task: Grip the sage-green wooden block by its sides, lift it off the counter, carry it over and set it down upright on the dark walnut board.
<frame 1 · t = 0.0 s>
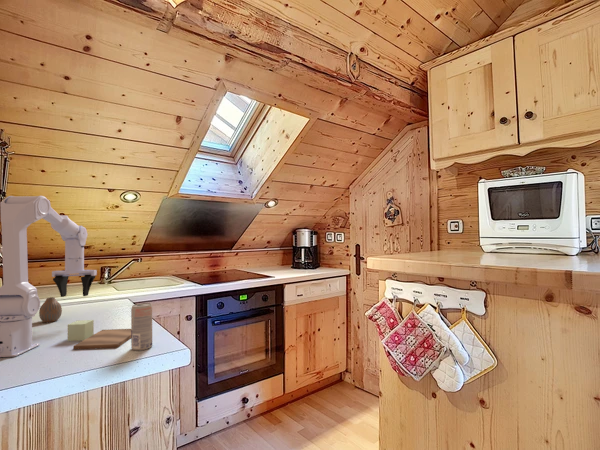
hand: (74, 296, 122), 10 cm above the countertop, tool pointing down, fingers open, 7 cm apart
energy drink: (142, 348, 95), on the countertop
sage block: (80, 338, 105), on the countertop
walnut board: (109, 339, 103), on the countertop
vase: (50, 321, 127), on the countertop
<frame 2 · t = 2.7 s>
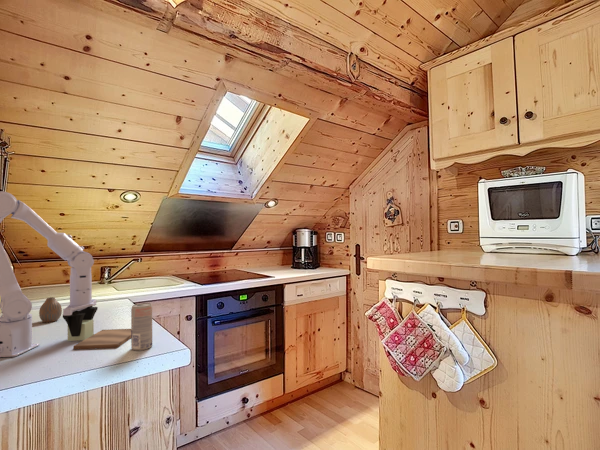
hand: (80, 333, 105), 1 cm above the countertop, tool pointing down, fingers closed on sage block, 5 cm apart
sage block: (80, 338, 105), on the countertop, touching gripper
everything else where it was.
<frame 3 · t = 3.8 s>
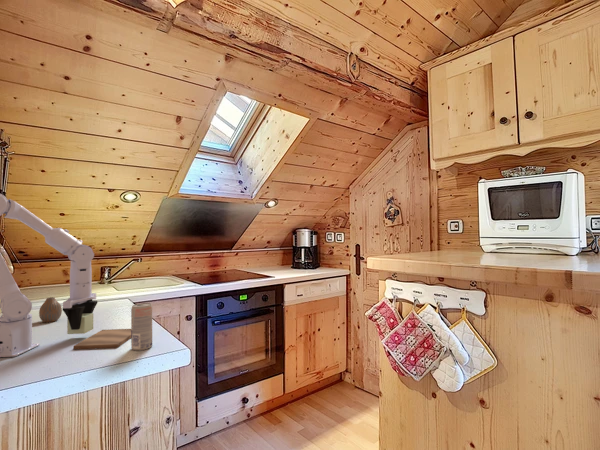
hand: (80, 326, 105), 3 cm above the countertop, tool pointing down, fingers closed on sage block, 5 cm apart
sage block: (80, 331, 105), point 2 cm above the countertop, touching gripper
everything else where it was.
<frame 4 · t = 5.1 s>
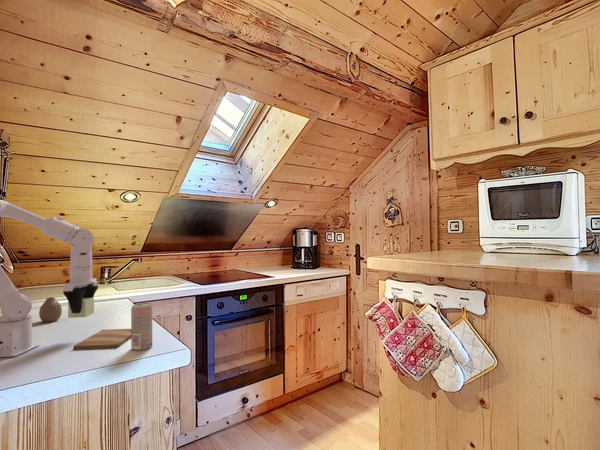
hand: (81, 310, 105), 8 cm above the countertop, tool pointing down, fingers closed on sage block, 5 cm apart
sage block: (81, 315, 105), point 7 cm above the countertop, touching gripper
everything else where it was.
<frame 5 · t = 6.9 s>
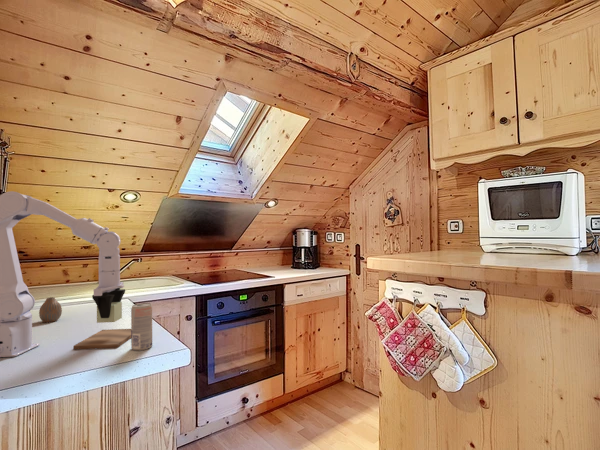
hand: (109, 315, 103), 7 cm above the countertop, tool pointing down, fingers closed on sage block, 5 cm apart
sage block: (109, 320, 103), point 6 cm above the countertop, touching gripper
everything else where it was.
when the fingers open (3 cm above the countertop, at t = 8.0 s): sage block stays where it is, resting on walnut board.
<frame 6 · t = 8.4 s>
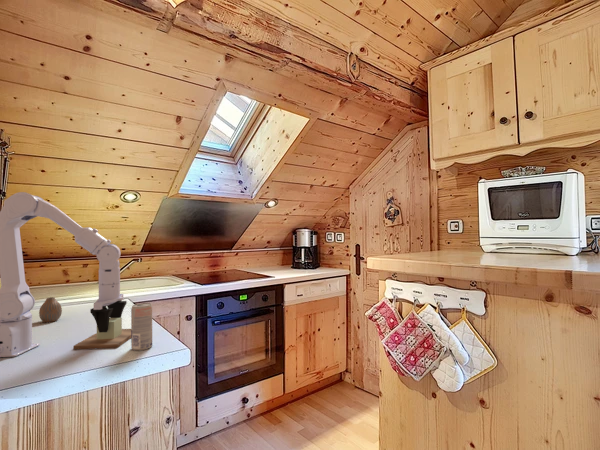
hand: (109, 328, 103), 3 cm above the countertop, tool pointing down, fingers open, 7 cm apart
sage block: (109, 336, 103), point 1 cm above the countertop, touching walnut board
everything else where it was.
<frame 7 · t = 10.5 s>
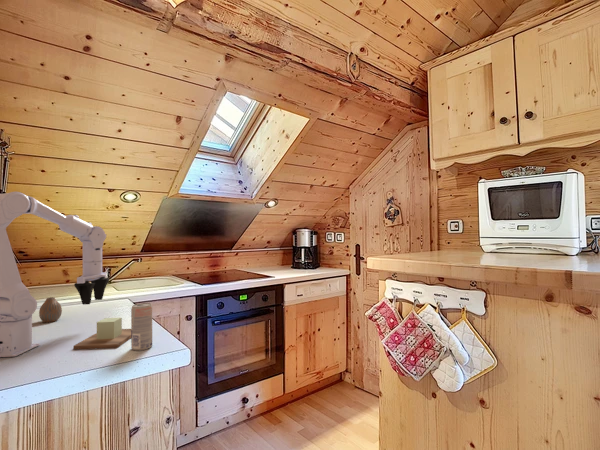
hand: (92, 301, 114), 9 cm above the countertop, tool pointing down, fingers open, 7 cm apart
nothing on the countertop moved.
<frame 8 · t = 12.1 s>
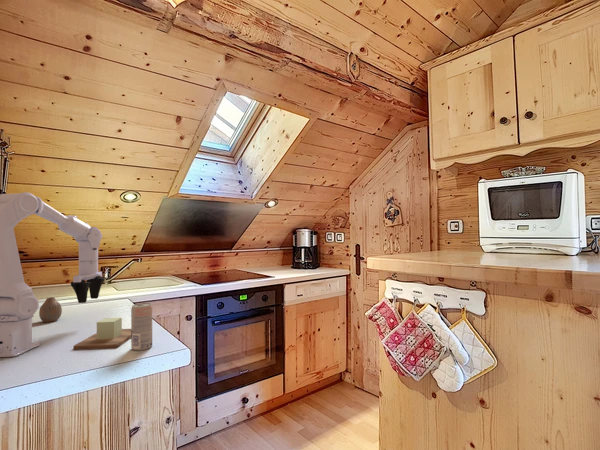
hand: (88, 300, 117), 9 cm above the countertop, tool pointing down, fingers open, 7 cm apart
nothing on the countertop moved.
at the end: sage block inside the target area on the walnut board (0.0 cm from its centre), point 1.0 cm above the walnut board's base; sage block tilted 0°; the gripper is holding nothing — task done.
